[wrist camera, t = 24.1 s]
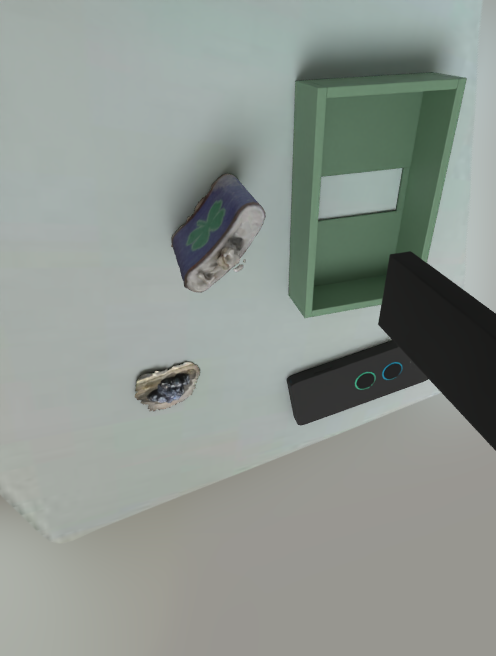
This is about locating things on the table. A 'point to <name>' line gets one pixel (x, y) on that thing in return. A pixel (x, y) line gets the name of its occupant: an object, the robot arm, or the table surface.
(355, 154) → the open box
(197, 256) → the flask
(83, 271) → the table surface
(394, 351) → the smart home device
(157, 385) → the geode half
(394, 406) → the table surface
